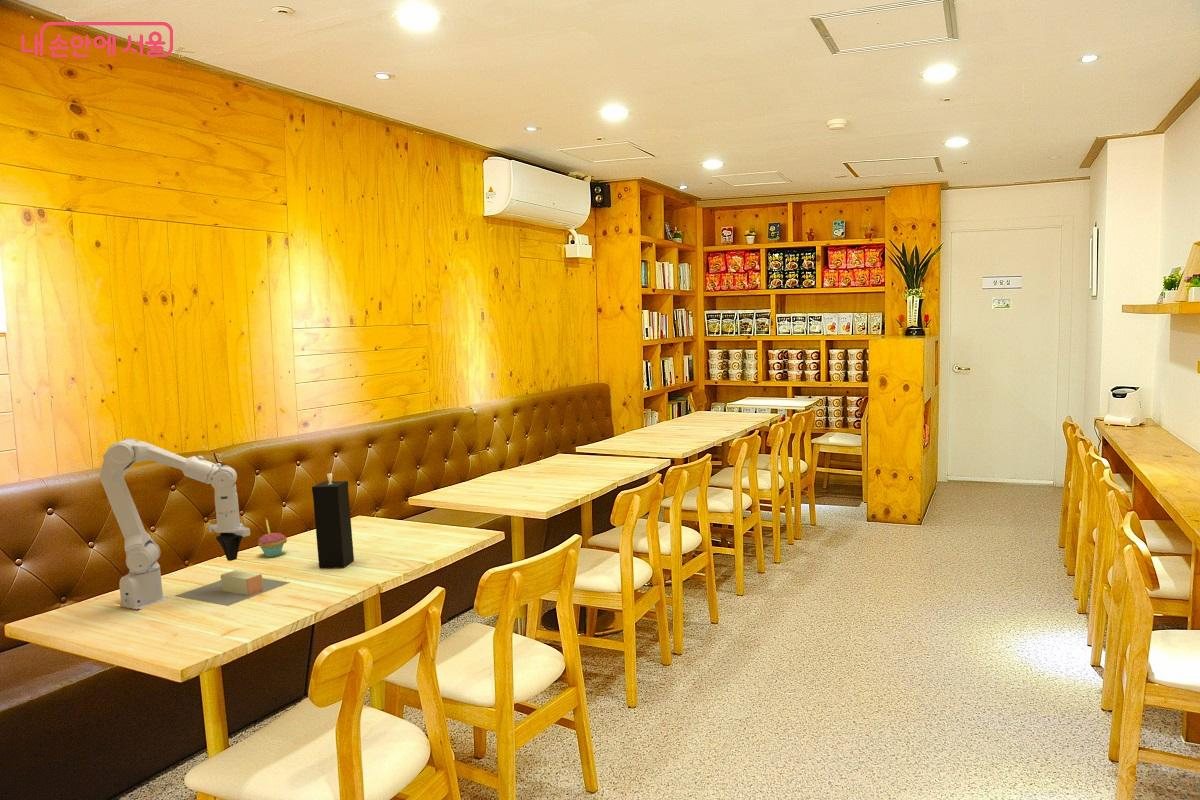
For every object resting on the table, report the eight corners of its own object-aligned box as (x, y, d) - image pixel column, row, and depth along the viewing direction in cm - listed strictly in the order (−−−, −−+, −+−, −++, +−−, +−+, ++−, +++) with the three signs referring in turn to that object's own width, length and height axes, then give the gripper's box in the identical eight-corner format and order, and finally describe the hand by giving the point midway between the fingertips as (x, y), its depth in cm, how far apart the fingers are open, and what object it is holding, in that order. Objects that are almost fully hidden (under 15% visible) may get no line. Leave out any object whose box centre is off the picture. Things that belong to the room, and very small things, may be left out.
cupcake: (253, 557, 262) (249, 520, 261) (274, 550, 269) (271, 514, 268) (272, 559, 258) (268, 522, 257) (293, 552, 265) (290, 515, 264)
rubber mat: (228, 608, 214) (228, 605, 214) (174, 597, 225) (174, 595, 225) (290, 584, 231) (290, 582, 231) (238, 576, 242) (238, 574, 242)
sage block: (222, 590, 227) (249, 595, 221) (220, 574, 226) (247, 579, 221) (236, 585, 231) (263, 590, 225) (234, 570, 230) (261, 574, 225)
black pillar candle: (354, 560, 252) (347, 470, 250) (344, 568, 245) (336, 475, 242) (329, 561, 253) (322, 471, 250) (318, 568, 245) (310, 475, 243)
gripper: (257, 509, 225) (262, 558, 227) (222, 506, 232) (227, 553, 234) (235, 515, 219) (240, 565, 221) (200, 511, 226) (205, 560, 228)
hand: (232, 559), depth 227 cm, fingers closed
